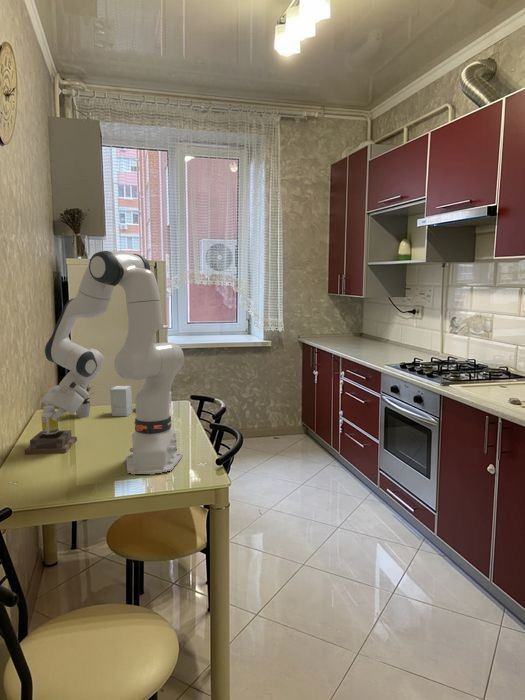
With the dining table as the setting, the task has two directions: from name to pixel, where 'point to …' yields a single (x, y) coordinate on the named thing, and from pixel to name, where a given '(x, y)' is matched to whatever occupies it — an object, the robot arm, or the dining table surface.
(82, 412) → the house plant
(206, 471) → the dining table surface
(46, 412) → the supplement bottle
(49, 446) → the socket holder
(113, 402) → the supplement box
